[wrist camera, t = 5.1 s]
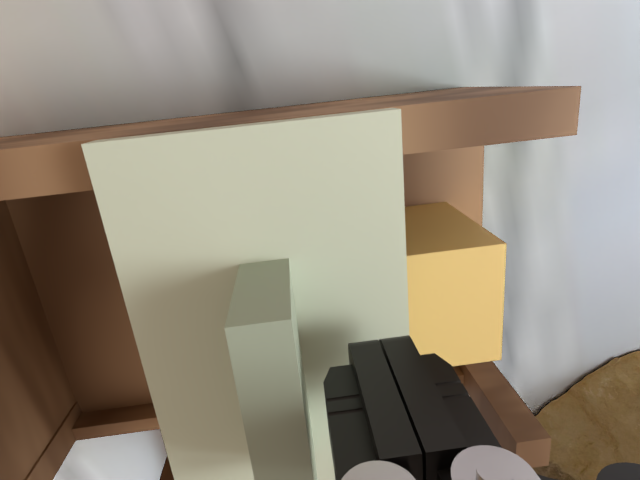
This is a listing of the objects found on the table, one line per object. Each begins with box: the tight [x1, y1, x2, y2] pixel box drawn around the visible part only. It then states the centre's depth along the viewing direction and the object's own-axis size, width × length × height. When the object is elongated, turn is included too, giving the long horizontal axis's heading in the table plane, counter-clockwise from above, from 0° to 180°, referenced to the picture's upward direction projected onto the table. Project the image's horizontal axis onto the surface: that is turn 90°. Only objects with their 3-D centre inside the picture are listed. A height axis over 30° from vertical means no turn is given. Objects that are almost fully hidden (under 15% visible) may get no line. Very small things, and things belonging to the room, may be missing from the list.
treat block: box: [405, 202, 506, 366], centre depth 16 cm, size 4×4×5 cm
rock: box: [532, 351, 640, 480], centre depth 21 cm, size 11×9×10 cm
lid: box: [81, 108, 409, 480], centre depth 11 cm, size 7×12×4 cm, turn 6°
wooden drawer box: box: [0, 86, 581, 480], centre depth 16 cm, size 19×12×8 cm, turn 96°
